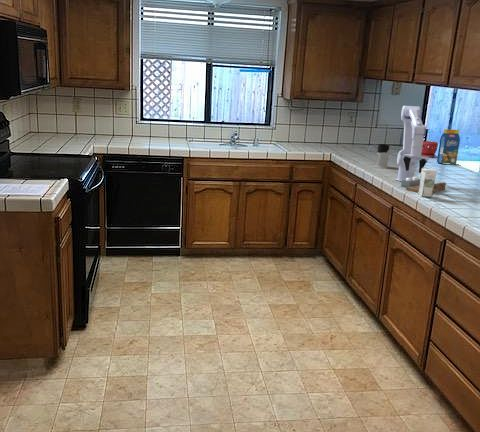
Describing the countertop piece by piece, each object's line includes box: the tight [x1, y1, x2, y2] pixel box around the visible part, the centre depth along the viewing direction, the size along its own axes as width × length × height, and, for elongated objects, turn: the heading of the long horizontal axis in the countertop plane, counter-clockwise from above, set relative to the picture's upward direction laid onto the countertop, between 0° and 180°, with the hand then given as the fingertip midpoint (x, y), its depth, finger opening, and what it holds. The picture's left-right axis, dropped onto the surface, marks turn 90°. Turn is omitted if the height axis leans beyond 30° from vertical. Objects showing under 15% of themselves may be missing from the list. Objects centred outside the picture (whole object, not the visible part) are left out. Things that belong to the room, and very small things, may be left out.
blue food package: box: [436, 128, 461, 165], centre depth 376 cm, size 6×12×25 cm, turn 101°
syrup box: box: [417, 167, 437, 198], centre depth 270 cm, size 6×6×14 cm
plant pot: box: [421, 140, 439, 158], centre depth 408 cm, size 13×13×12 cm
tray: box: [400, 176, 420, 189], centre depth 294 cm, size 12×5×5 cm, turn 127°
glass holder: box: [367, 143, 390, 169], centre depth 352 cm, size 9×14×15 cm, turn 78°
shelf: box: [405, 181, 447, 194], centre depth 287 cm, size 22×10×4 cm, turn 127°
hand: (413, 171), depth 288 cm, fingers open, 7 cm apart
